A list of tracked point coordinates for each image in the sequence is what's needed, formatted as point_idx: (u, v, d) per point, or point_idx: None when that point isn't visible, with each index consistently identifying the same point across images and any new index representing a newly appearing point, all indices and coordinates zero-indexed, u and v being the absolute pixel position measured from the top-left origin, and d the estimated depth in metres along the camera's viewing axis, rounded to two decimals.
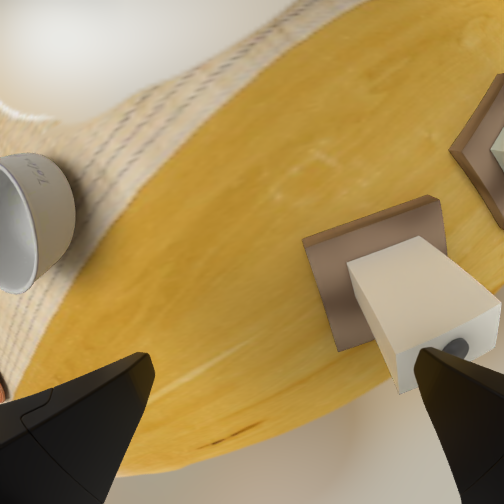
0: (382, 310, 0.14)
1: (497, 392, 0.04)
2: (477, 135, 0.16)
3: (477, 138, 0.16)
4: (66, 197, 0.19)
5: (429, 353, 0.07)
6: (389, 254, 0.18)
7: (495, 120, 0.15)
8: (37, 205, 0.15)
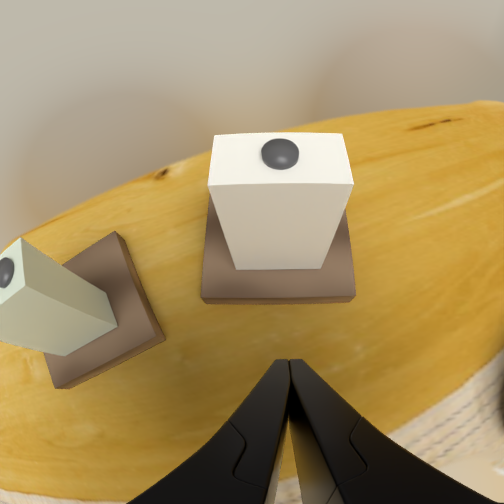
0: (330, 223, 0.14)
1: (326, 432, 0.05)
2: (129, 345, 0.19)
3: (129, 341, 0.19)
4: None
5: (290, 366, 0.08)
6: (279, 263, 0.20)
7: (98, 351, 0.19)
8: None
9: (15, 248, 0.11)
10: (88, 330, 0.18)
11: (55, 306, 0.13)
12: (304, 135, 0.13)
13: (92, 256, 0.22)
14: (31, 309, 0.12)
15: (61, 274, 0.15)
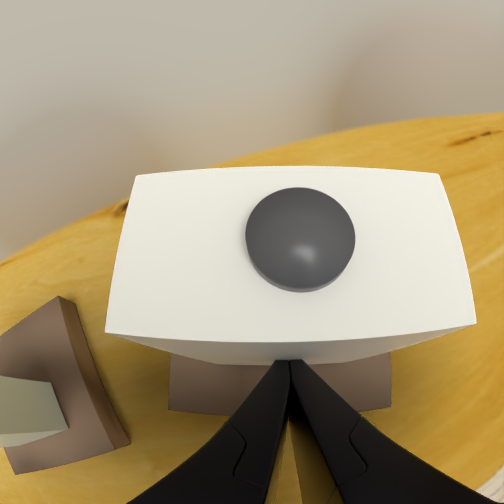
0: (387, 350, 0.07)
1: (326, 432, 0.05)
2: (84, 452, 0.11)
3: (84, 449, 0.11)
4: None
5: (290, 366, 0.08)
6: None
7: (51, 450, 0.11)
8: None
9: None
10: (31, 436, 0.10)
11: None
12: (359, 175, 0.05)
13: (34, 328, 0.14)
14: None
15: None
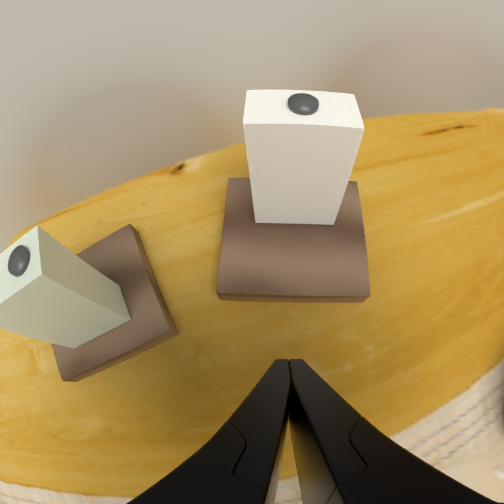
0: (344, 169, 0.16)
1: (326, 432, 0.05)
2: (141, 338, 0.20)
3: (142, 335, 0.20)
4: None
5: (290, 366, 0.08)
6: (295, 216, 0.21)
7: (109, 344, 0.19)
8: None
9: (31, 236, 0.12)
10: (101, 322, 0.18)
11: (71, 297, 0.14)
12: (322, 93, 0.14)
13: (106, 248, 0.23)
14: (45, 299, 0.12)
15: (77, 265, 0.15)
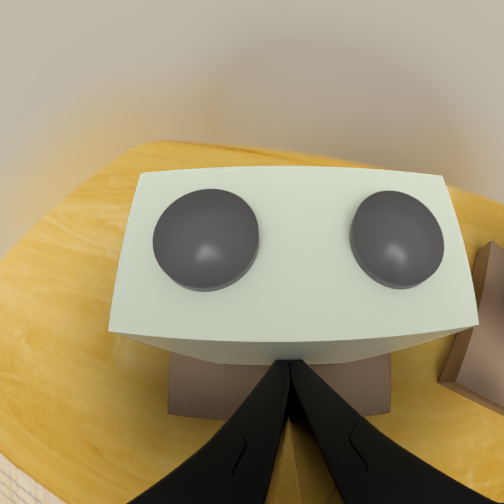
0: None
1: (326, 432, 0.05)
2: None
3: None
4: None
5: (290, 366, 0.08)
6: None
7: None
8: None
9: (428, 191, 0.05)
10: (319, 362, 0.11)
11: (390, 350, 0.06)
12: None
13: None
14: (364, 348, 0.05)
15: None
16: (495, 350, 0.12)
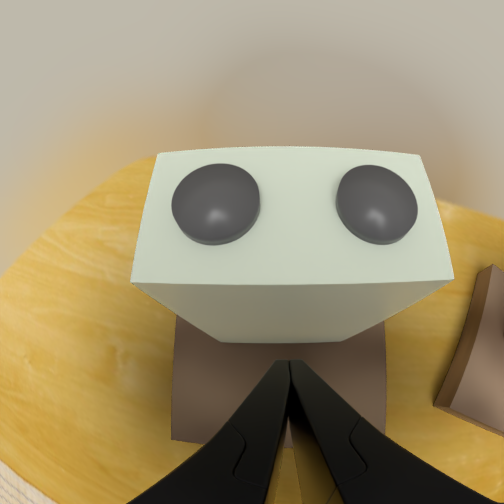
0: None
1: (326, 432, 0.05)
2: None
3: None
4: None
5: (290, 366, 0.08)
6: None
7: (287, 428, 0.12)
8: None
9: (405, 167, 0.06)
10: (316, 338, 0.12)
11: (379, 315, 0.07)
12: None
13: None
14: (354, 307, 0.06)
15: None
16: (491, 375, 0.12)
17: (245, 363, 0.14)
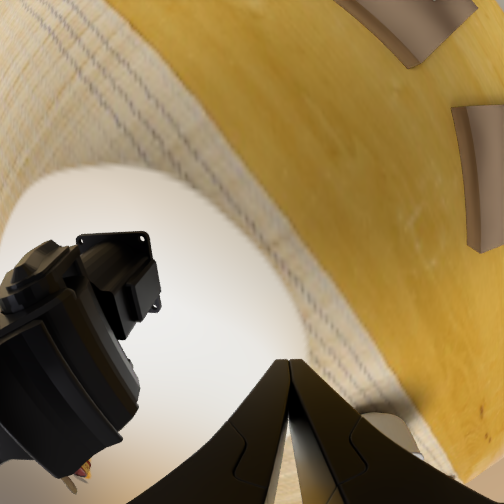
0: None
1: (326, 432, 0.05)
2: (398, 33, 0.12)
3: (402, 34, 0.12)
4: (374, 423, 0.23)
5: (290, 366, 0.08)
6: None
7: None
8: None
9: None
10: None
11: None
12: None
13: None
14: None
15: None
16: (497, 137, 0.14)
17: None
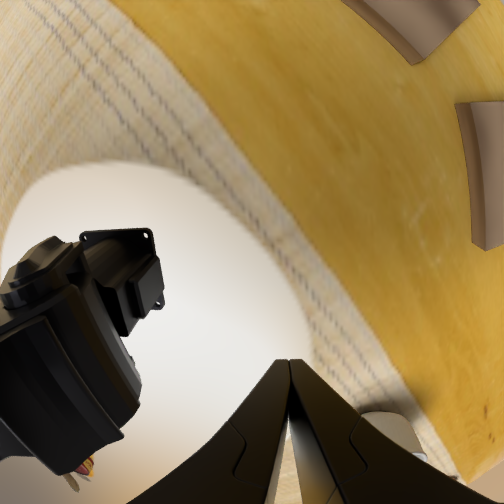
0: None
1: (326, 432, 0.05)
2: (401, 29, 0.12)
3: (405, 30, 0.12)
4: (378, 422, 0.22)
5: (290, 366, 0.08)
6: None
7: None
8: None
9: None
10: None
11: None
12: None
13: None
14: None
15: None
16: (501, 133, 0.13)
17: None
